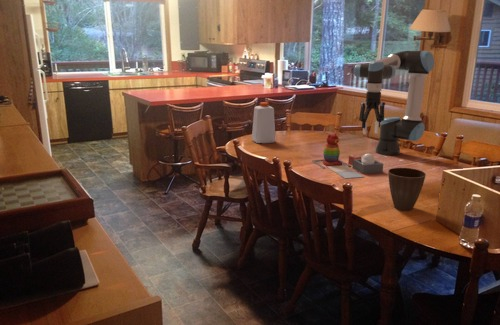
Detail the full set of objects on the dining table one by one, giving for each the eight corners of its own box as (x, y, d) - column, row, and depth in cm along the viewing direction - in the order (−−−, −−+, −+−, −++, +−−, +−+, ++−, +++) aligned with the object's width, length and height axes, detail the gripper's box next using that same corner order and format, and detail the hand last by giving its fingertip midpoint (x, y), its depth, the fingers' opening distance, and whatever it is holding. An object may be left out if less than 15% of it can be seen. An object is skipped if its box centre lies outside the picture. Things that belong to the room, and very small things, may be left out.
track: (338, 159, 261) (338, 158, 261) (369, 176, 226) (369, 176, 226) (311, 160, 257) (311, 160, 257) (339, 179, 222) (339, 178, 222)
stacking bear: (329, 167, 244) (331, 136, 239) (318, 162, 253) (320, 133, 248) (344, 164, 249) (346, 135, 244) (333, 160, 258) (334, 131, 253)
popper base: (371, 166, 246) (372, 158, 244) (382, 172, 234) (383, 163, 233) (352, 168, 243) (353, 159, 241) (362, 174, 231) (363, 165, 230)
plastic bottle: (269, 138, 317) (270, 101, 310) (277, 142, 303) (278, 103, 296) (250, 139, 313) (250, 101, 305) (257, 144, 299) (257, 104, 291)
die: (354, 162, 254) (355, 153, 252) (360, 164, 250) (361, 155, 248) (348, 164, 251) (348, 154, 250) (354, 166, 247) (354, 156, 246)
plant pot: (383, 211, 180) (387, 175, 175) (386, 199, 193) (389, 166, 189) (421, 216, 175) (426, 179, 170) (421, 204, 188) (425, 169, 184)
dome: (369, 165, 242) (371, 151, 240) (376, 168, 236) (377, 154, 233) (358, 166, 240) (359, 152, 238) (365, 169, 234) (366, 155, 232)
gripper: (361, 92, 221) (357, 135, 227) (394, 91, 226) (389, 134, 232) (354, 90, 228) (351, 133, 234) (386, 90, 233) (382, 131, 239)
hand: (370, 133), depth 233 cm, fingers open, 6 cm apart
